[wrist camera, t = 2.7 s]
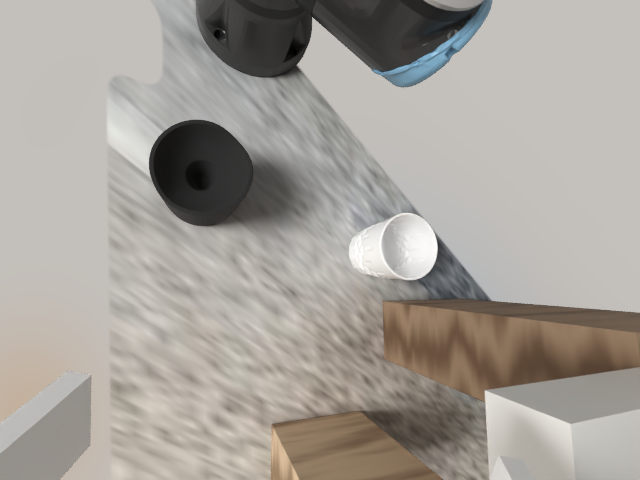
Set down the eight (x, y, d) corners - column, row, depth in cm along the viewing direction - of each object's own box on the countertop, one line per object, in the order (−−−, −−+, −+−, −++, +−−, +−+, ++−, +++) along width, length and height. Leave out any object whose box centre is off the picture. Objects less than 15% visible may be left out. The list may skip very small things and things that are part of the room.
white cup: (396, 231, 51) (441, 221, 41) (389, 284, 49) (434, 285, 40) (348, 220, 48) (385, 205, 39) (340, 274, 47) (376, 273, 37)
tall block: (382, 301, 48) (636, 332, 20) (460, 298, 53) (754, 321, 25) (384, 358, 48) (651, 474, 20) (463, 351, 52) (770, 435, 24)
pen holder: (161, 230, 40) (150, 215, 30) (159, 152, 41) (148, 115, 31) (242, 228, 43) (255, 215, 34) (239, 157, 44) (250, 124, 34)
